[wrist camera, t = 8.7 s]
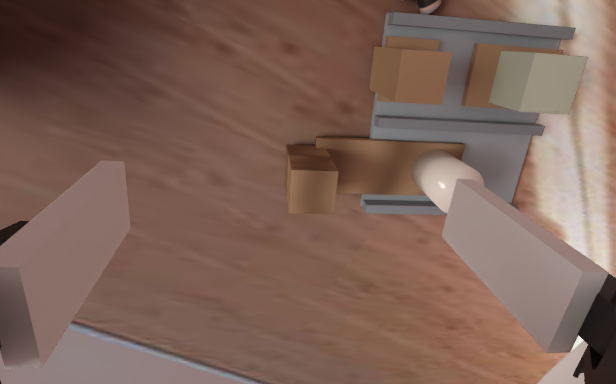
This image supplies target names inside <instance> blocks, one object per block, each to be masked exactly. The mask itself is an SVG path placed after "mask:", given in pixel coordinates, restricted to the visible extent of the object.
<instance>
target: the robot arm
mask: <svg viewBox="0 0 616 384" xmlns="http://www.w3.org/2000/svg"><path fill="white" fill-rule="evenodd" d="M129 230H130V219H129V209H128V198H127V188H126V177H125V167H124V162H119V161H100V162H99V163H98V164H97V165H96V166H94V167H93V168H92V169H91V170H90V171H89V172H87V173H86V174H85V175H84V176H83V177H81V178H80V179H79V180H78V181H77V182H76V183H74V184H73V185H72V186H71V187H70V188H68V189H67V190H66V191H65V192H64V193H63V194H61V195H60V196H59V197H58V198H57V199H55V200H54V201H53V202H52V203H51V204H50V205H48V206H47V207H46V208H45V209H44V210H42V211H41V212H40V213H39V214H38V215H37V216H35V217H34V218H33V219H32V220H31V221H19V222H17V223H15V224H13V225H11V226H8V227H6V228H4V229H2V230H0V351H1V354H2V358H3V361H4V365H5V368H33V367H43V365H44V364H45V362H46V361H47V359H48V357H49V356H50V354H51V353H52V351H53V349H54V348H55V346H56V345H57V343H58V342H59V340H60V338H61V337H62V335H63V334H64V332H65V331H66V329H67V328H68V326H69V324H70V323H71V321H72V320H73V318H74V316H75V315H76V313H77V312H78V310H79V309H80V307H81V305H82V304H83V302H84V301H85V299H86V298H87V296H88V294H89V293H90V291H91V290H92V288H93V286H94V285H95V283H96V282H97V280H98V279H99V277H100V275H101V274H102V272H103V271H104V269H105V268H106V266H107V264H108V263H109V261H110V260H111V258H112V256H113V255H114V253H115V252H116V250H117V249H118V247H119V245H120V244H121V242H122V241H123V239H124V238H125V236H126V234H127V233H128V231H129ZM442 237H443V238H444V240H445V241H446V242H447V243H448V244H449V245H450V246H451V247H452V248H453V250H454V251H455V252H456V253H457V254H458V255H459V256H460V257H461V259H462V260H463V261H464V262H465V263H466V264H467V265H468V266H469V267H470V269H471V270H472V271H473V272H474V273H475V274H476V275H477V276H478V277H479V279H480V280H481V281H482V282H483V283H484V284H485V285H486V286H487V287H488V289H489V290H490V291H491V292H492V293H493V294H494V295H495V296H496V297H497V299H498V300H499V301H500V302H501V303H502V304H503V305H504V306H505V307H506V309H507V310H508V311H509V312H510V313H511V314H512V315H513V316H514V318H515V319H516V320H517V321H518V322H519V323H520V324H521V325H522V326H523V328H524V329H525V330H526V331H527V332H528V333H529V334H530V335H531V336H532V338H533V339H534V340H535V341H536V342H537V343H538V344H539V345H540V346H541V348H542V349H543V350H544V351H545V352H546V353H560V352H570V351H571V349H572V347H573V345H574V343H575V341H576V339H577V337H578V335H579V336H580V337H581V338H582V339H583V340H584V341H585V342H587V344H588V346H587V348H586V350H585V352H584V354H583V356H582V358H581V360H580V362H579V364H578V366H577V368H576V370H575V372H574V374H573V376H574V377H576V378H578V376H579V374H580V373H584V376H585V380H584V381H585V384H616V278H615V277H613V276H612V275H610V274H609V272H607V271H606V270H604V269H603V268H601V267H600V266H599V265H597V264H596V263H594V262H593V261H591V260H590V259H588V258H587V257H585V256H584V255H583V254H581V253H580V252H578V251H577V250H575V249H574V248H572V247H571V246H569V245H568V244H567V243H565V242H564V241H562V240H561V239H559V238H558V237H556V236H555V235H553V234H552V233H551V232H549V231H548V230H546V229H545V228H543V227H542V226H540V225H539V224H538V223H536V222H535V221H533V220H532V219H530V218H529V217H527V216H526V215H524V214H523V213H522V212H520V211H519V210H517V209H516V208H514V207H513V206H511V205H510V204H508V203H507V202H506V201H504V200H503V199H501V198H500V197H498V196H497V195H495V194H494V193H492V192H491V191H490V190H488V189H487V188H485V187H484V186H482V185H481V184H479V183H478V182H476V181H475V180H471V179H457V181H456V184H455V188H454V192H453V195H452V199H451V203H450V206H449V210H448V214H447V217H446V221H445V225H444V228H443V232H442ZM0 384H1V381H0Z"/></svg>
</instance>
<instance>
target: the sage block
mask: <svg viewBox="0 0 616 384" xmlns="http://www.w3.org/2000/svg"><path fill="white" fill-rule="evenodd" d="M587 59H588V57H583V56H571V55H558V54H545V53H532V52H515V51H501V55H500V59H499V63H498V67H497V71H496V75H495V79H494V83H493V87H492V91H491V95H490V99H489V103H491V104H495V105H498V106H502V107H505V108H508V109H512V110H515V111H519V112H535V113H553V114H569V113H570V110H571V107H572V104H573V101H574V98H575V95H576V92H577V89H578V86H579V83H580V80H581V77H582V74H583V71H584V68H585V65H586V62H587Z"/></svg>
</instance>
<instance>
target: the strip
mask: <svg viewBox="0 0 616 384" xmlns="http://www.w3.org/2000/svg"><path fill="white" fill-rule="evenodd" d="M464 148H465V144H463V143H456V142H433V141H411V140H388V139H366V138H343V137H321V136H316V142H315V146H311V145H286V162H285V188H286V195H287V202H288V209H289V213H310V214H334V208H335V199H336V194H376V195H415V196H426V195H425V194H424V193H423V192H422V191H421V190H420V189H419V188H418V187H417V186H416V185H415V183H414V182H413V179H412V167H413V165H414V163H415V161H416V159H417V158H418V157H419V156H420V155H421V154H423V153H424V152H426V151H429V150H432V149H441V150H444V151H446V152H448V153H449V154H451V155H452V156H454V157H456V158H457V159H459V160H460V161H462V157H463V152H464Z"/></svg>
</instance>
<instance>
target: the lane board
mask: <svg viewBox="0 0 616 384" xmlns="http://www.w3.org/2000/svg"><path fill="white" fill-rule="evenodd" d="M575 29H576V28H570V27H559V26H548V25H536V24H525V23H514V22H503V21H491V20H480V19H469V18H458V17H446V16H435V15H424V14H413V13H401V12H391V13H386V18H385V25H384V32H383V40H382V47H374V54H373V62H372V69H371V77H370V85H369V90H371V91H373V92H375V99H374V106H373V114H372V121H371V128H370V136H369V139H388V140H411V141H433V142H456V143H463V144H465V148H464V152H463V157H462V162H464V163H465V164H467V165H468V166H470V167H471V168H473V169H475V170H476V171H478V172H479V173H480V175H481V176H482V178H483V181H484V187H485V188H487V189H488V190H490V191H491V192H492V193H494V194H495V195H497V196H498V197H500V198H501V199H503V200H504V201H506V202H507V203H508V204H510V205H511V206H513V207H514V208H516V209H517V210H519V208H518V207H517V206H515V205H514V204H512V203H511V202H512V199H513V196H514V192H515V189H516V186H517V183H518V179H519V176H520V173H521V169H522V166H523V163H524V159H525V156H526V153H527V149H528V146H529V143H530V140H531V136H532V135H538V136H542V134H543V131H544V128H545V126H542V125H539V124H536V120H537V116H538V113H535V112H519V111H515V110H512V109H508V108H505V107H502V106H498V105H495V104H491V103H489V99H490V95H491V91H492V87H493V83H494V79H495V75H496V71H497V67H498V63H499V59H500V55H501V51H515V52H532V53H545V54H558V55H562V53H563V50H558V47H559V44H560V40H561V39H572V38H573V35H574V32H575ZM360 204H361V206H362V208H363V210H364V211H365V213H373V214H427V215H447V214H448V213H445V212H443V211H442V210H441V209H440V208H439V207H438V206H437V205H436V204H435V203H434V202H432V201H431V200H430V199H429V198H428V197H427V196H415V195H376V194H362V195H361V202H360Z"/></svg>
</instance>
